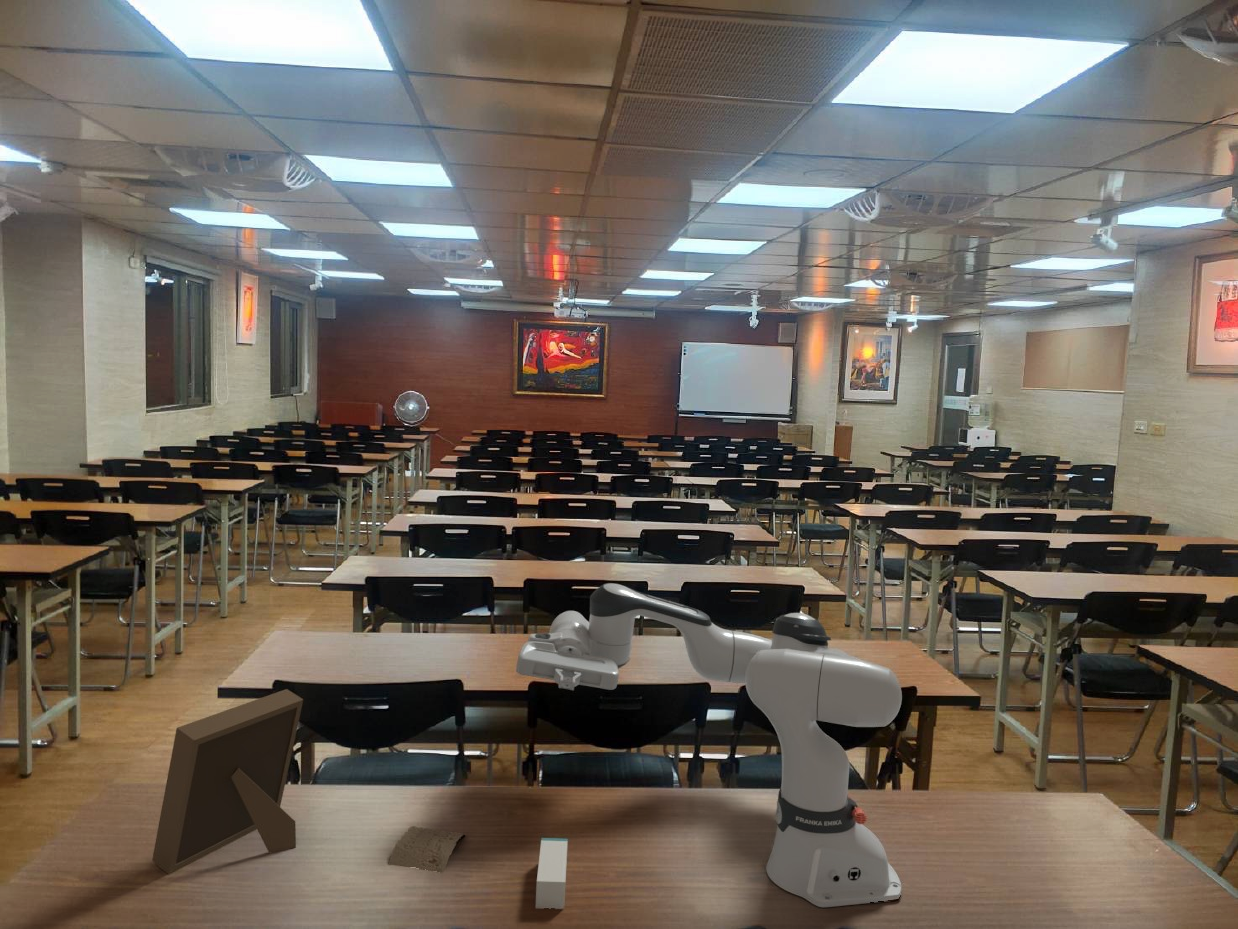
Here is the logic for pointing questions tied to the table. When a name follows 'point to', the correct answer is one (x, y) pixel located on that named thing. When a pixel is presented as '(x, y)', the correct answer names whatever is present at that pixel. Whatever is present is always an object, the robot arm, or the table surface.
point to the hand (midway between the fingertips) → (566, 685)
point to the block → (551, 873)
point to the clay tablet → (424, 849)
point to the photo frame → (229, 781)
